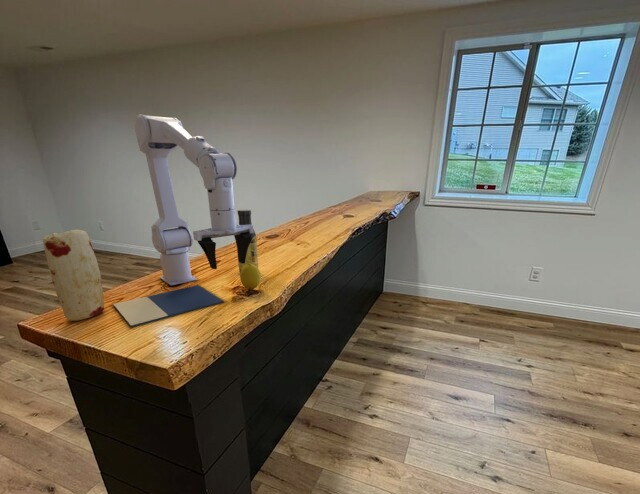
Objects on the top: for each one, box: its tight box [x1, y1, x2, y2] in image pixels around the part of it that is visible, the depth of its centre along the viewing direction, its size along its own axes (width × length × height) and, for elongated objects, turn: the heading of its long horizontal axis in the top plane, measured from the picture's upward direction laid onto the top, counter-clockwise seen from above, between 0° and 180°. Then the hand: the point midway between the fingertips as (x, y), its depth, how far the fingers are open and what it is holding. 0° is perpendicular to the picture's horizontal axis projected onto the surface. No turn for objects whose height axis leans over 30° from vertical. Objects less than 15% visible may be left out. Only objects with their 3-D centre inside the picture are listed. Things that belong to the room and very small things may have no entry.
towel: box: [112, 284, 225, 328], centre depth 88 cm, size 16×22×1 cm
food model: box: [42, 229, 105, 322], centre depth 78 cm, size 10×7×20 cm
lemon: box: [239, 263, 262, 291], centre depth 96 cm, size 6×6×8 cm
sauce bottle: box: [236, 208, 259, 273], centre depth 109 cm, size 6×6×20 cm
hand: (228, 265), depth 86 cm, fingers open, 7 cm apart
